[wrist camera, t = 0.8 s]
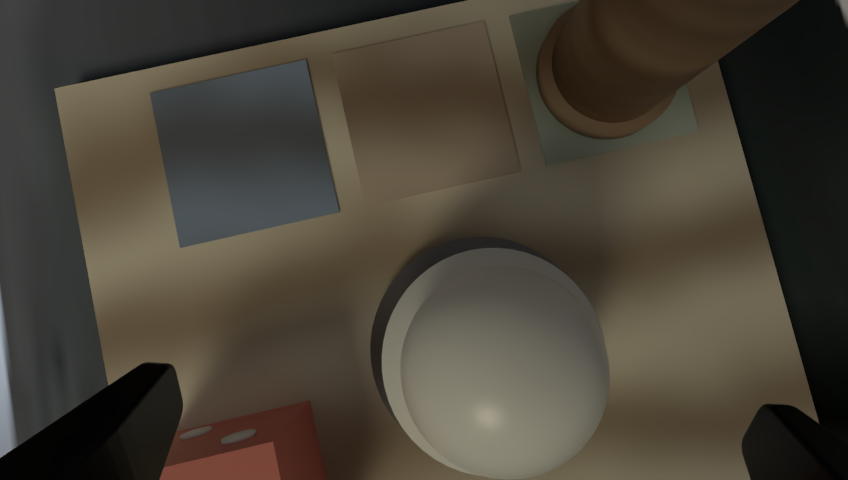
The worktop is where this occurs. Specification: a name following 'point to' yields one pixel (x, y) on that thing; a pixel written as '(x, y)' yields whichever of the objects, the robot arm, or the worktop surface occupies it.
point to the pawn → (637, 57)
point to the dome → (496, 364)
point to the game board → (422, 234)
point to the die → (249, 448)
